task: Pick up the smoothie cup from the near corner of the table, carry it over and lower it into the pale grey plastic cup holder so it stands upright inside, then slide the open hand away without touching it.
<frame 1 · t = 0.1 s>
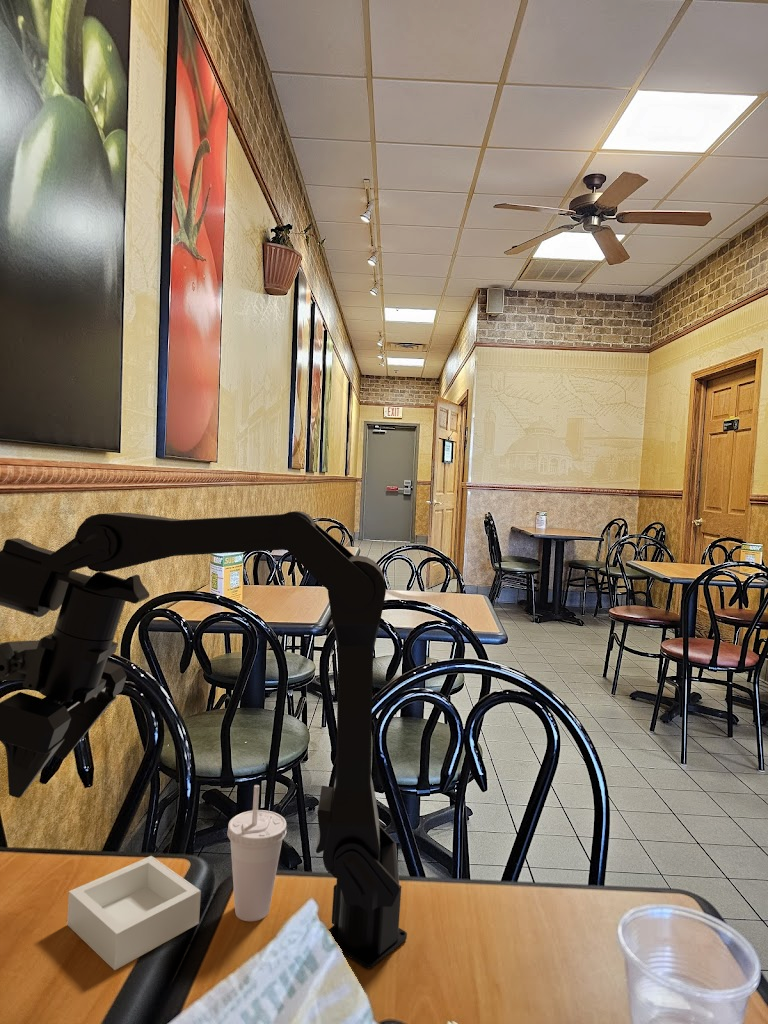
hand: (39, 775, 66), 15 cm above the table, tool pointing down, fingers open, 9 cm apart
cup holder: (133, 924, 68), on the table
smoothie: (252, 912, 71), on the table
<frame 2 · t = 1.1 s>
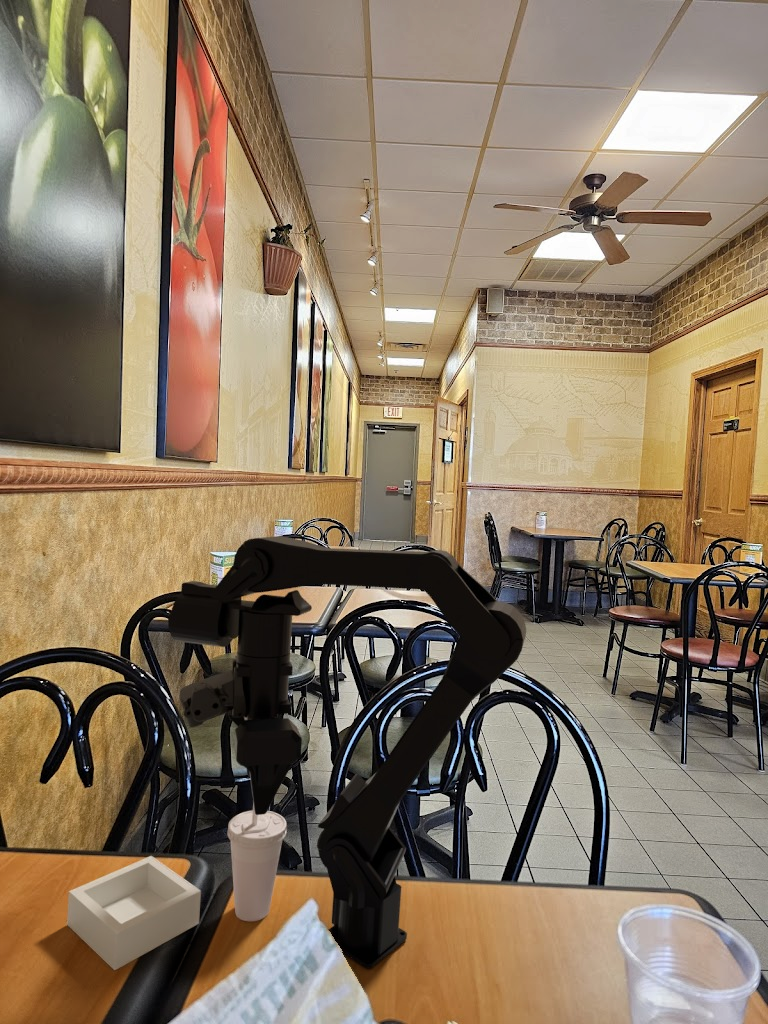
hand: (256, 793, 71), 13 cm above the table, tool pointing down, fingers open, 9 cm apart
nothing on the table moved.
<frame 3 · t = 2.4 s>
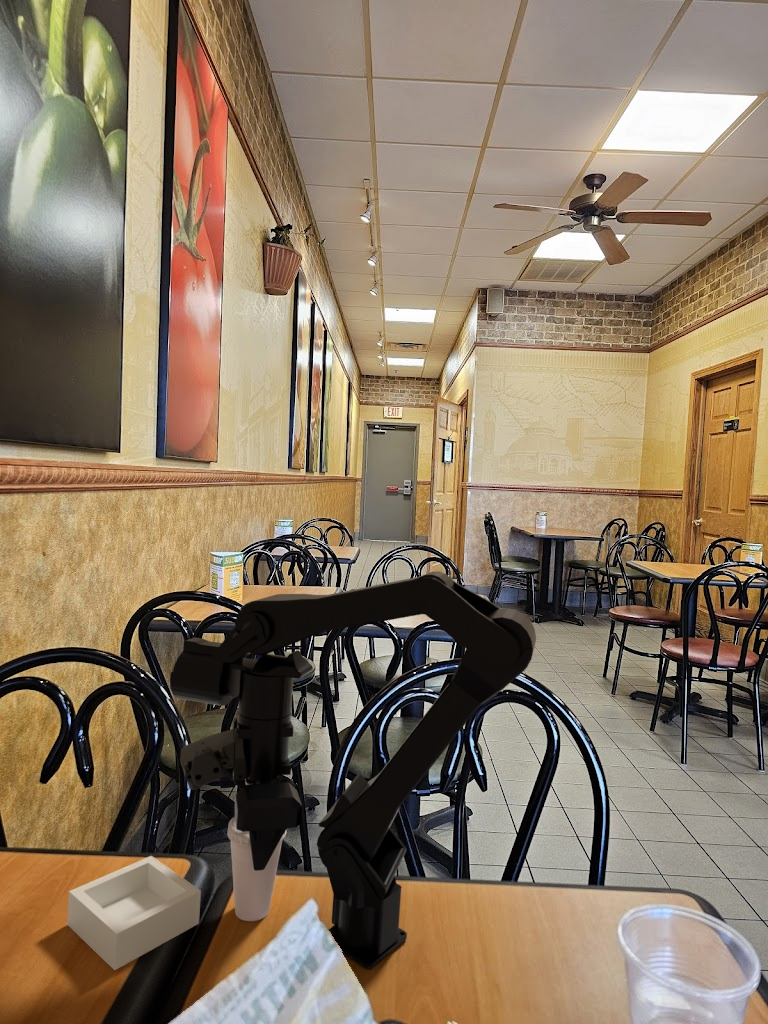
hand: (256, 852, 71), 6 cm above the table, tool pointing down, fingers closed on smoothie, 6 cm apart
smoothie: (252, 912, 71), on the table, touching gripper
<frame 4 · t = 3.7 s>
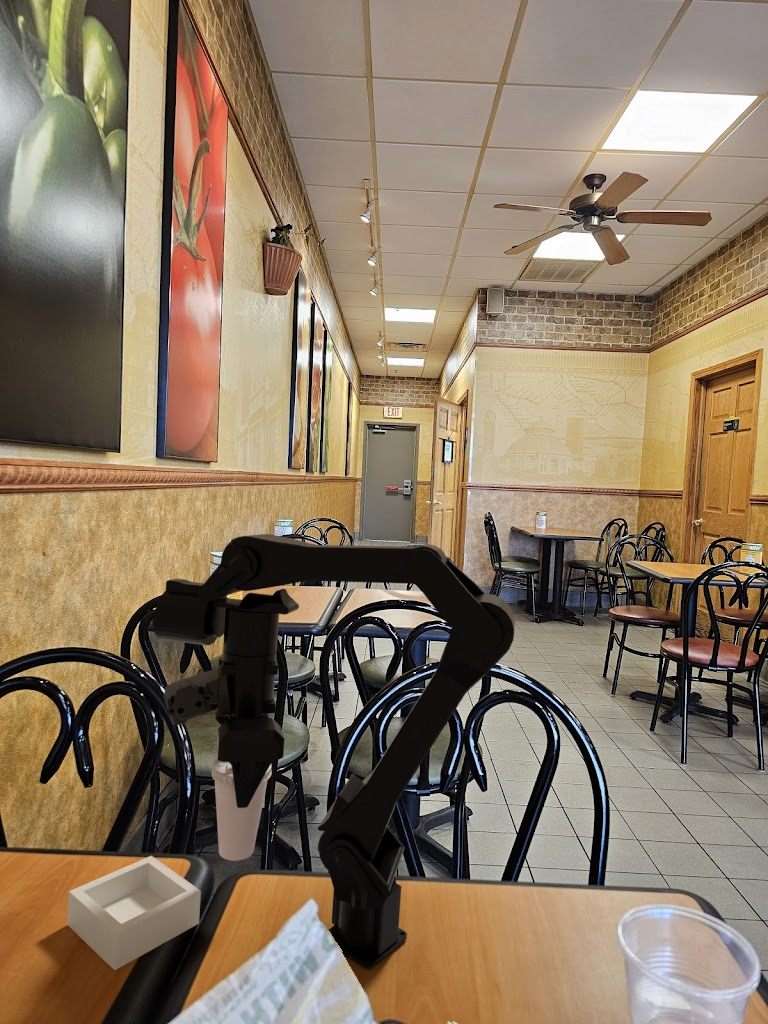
hand: (240, 792, 70), 13 cm above the table, tool pointing down, fingers closed on smoothie, 6 cm apart
smoothie: (236, 852, 71), point 6 cm above the table, touching gripper
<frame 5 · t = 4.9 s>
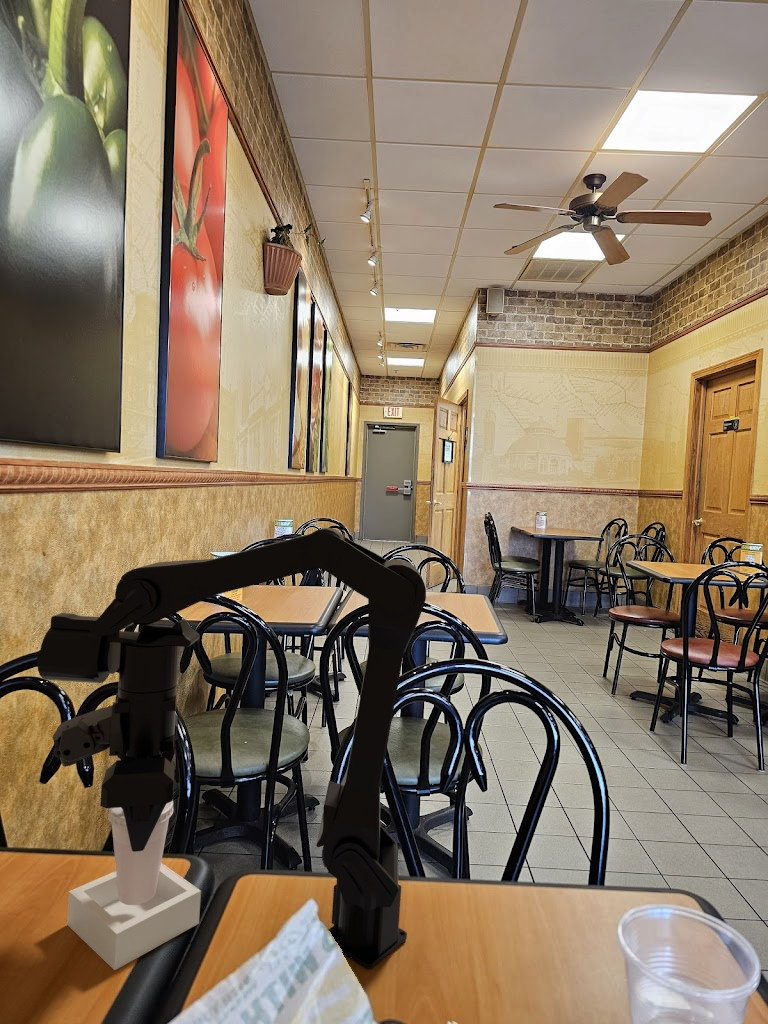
hand: (140, 833, 67), 10 cm above the table, tool pointing down, fingers closed on smoothie, 6 cm apart
smoothie: (137, 895, 68), point 3 cm above the table, touching gripper
when the fingers open (9 cm above the table, at t = 5.5 s): smoothie drops 1 cm, resting on cup holder.
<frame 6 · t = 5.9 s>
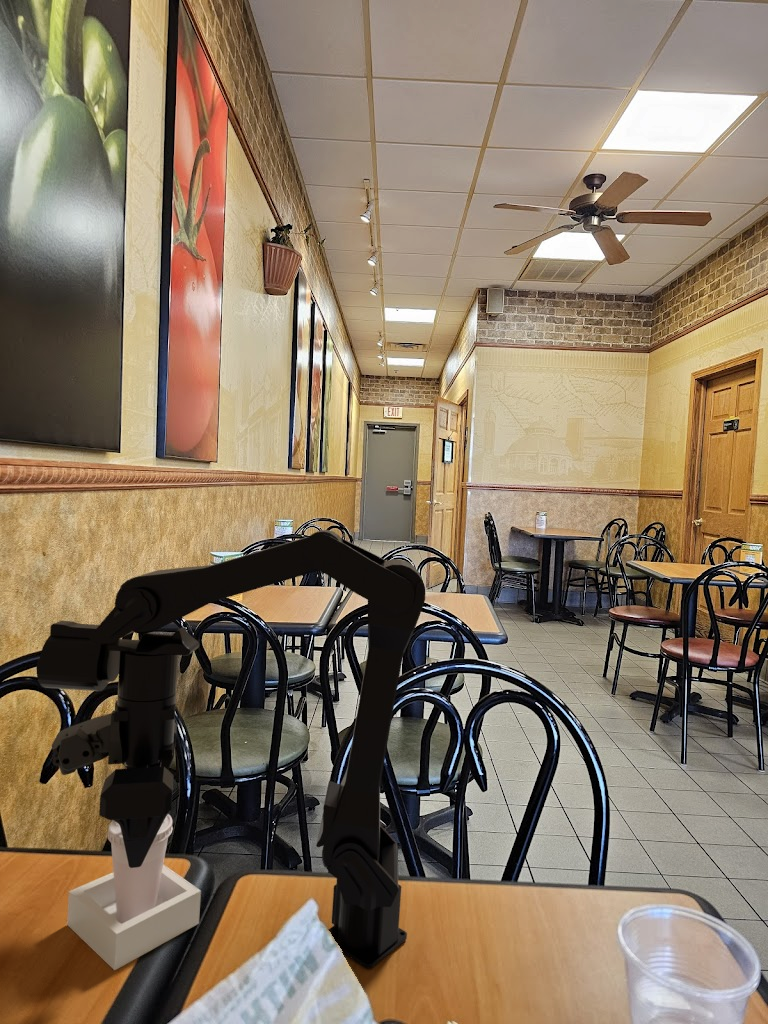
hand: (138, 841, 68), 9 cm above the table, tool pointing down, fingers open, 9 cm apart
smoothie: (135, 915, 68), point 1 cm above the table, touching cup holder
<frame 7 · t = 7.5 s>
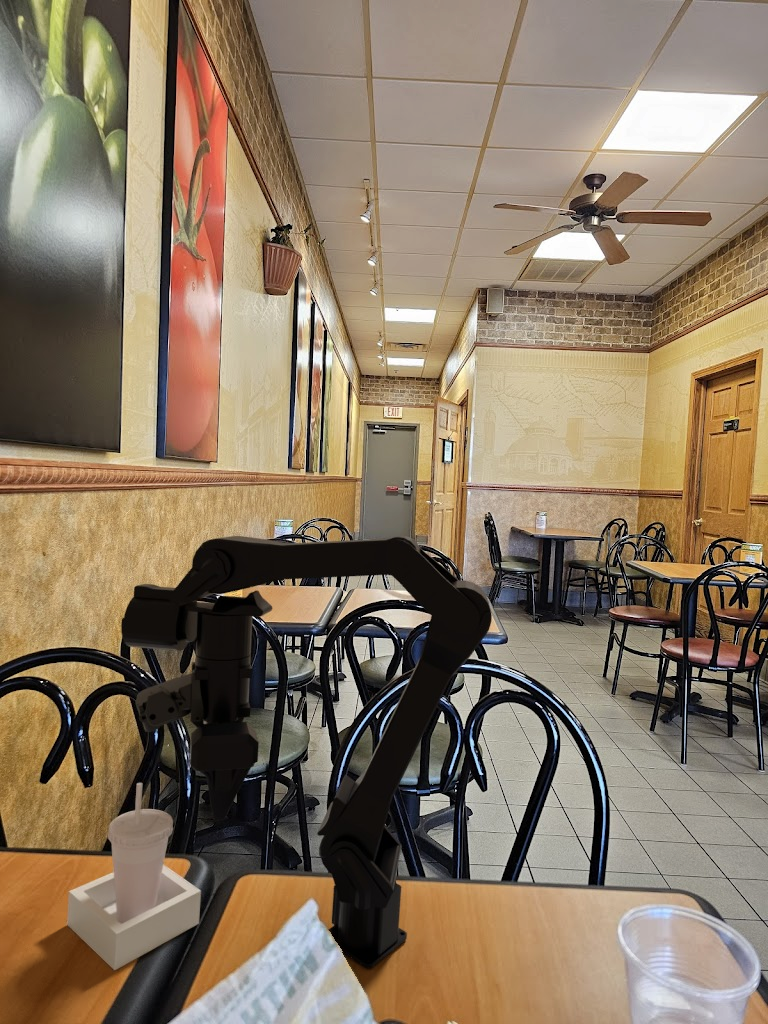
hand: (216, 798, 69), 13 cm above the table, tool pointing down, fingers open, 9 cm apart
nothing on the table moved.
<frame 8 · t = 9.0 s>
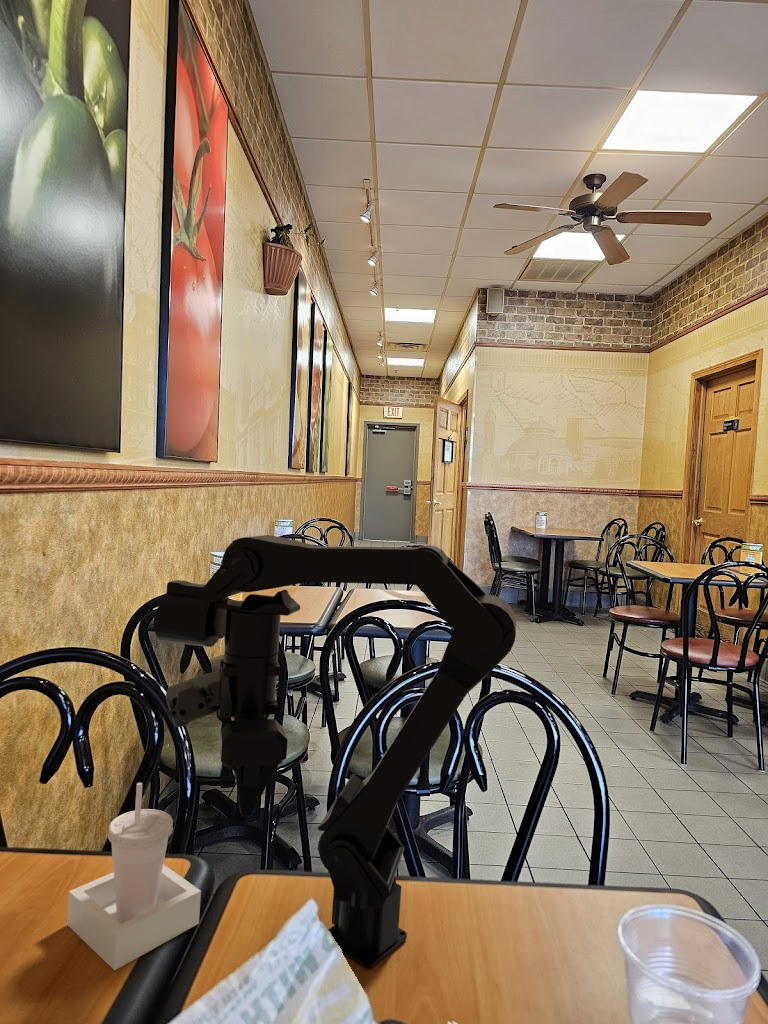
hand: (242, 794, 70), 13 cm above the table, tool pointing down, fingers open, 9 cm apart
nothing on the table moved.
at the end: smoothie 0.4 cm off-centre on the cup holder, point 0.6 cm above the cup holder's base; smoothie tilted 0°; the gripper is holding nothing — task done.
